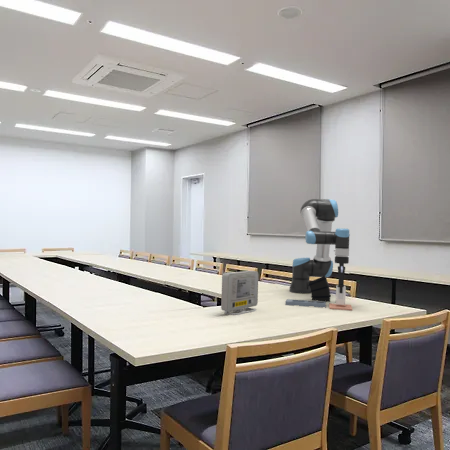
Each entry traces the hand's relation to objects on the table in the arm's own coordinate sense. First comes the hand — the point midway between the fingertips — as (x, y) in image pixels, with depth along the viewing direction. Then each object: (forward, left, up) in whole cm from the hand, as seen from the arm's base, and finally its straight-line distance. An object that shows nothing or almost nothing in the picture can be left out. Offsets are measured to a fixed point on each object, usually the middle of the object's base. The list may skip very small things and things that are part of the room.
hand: (340, 298), depth 238 cm
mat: (0, 0, -5) cm, 5 cm away
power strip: (0, -19, -5) cm, 20 cm away
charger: (0, 0, -3) cm, 3 cm away
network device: (+33, -50, -5) cm, 60 cm away
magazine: (-20, -12, -5) cm, 24 cm away
